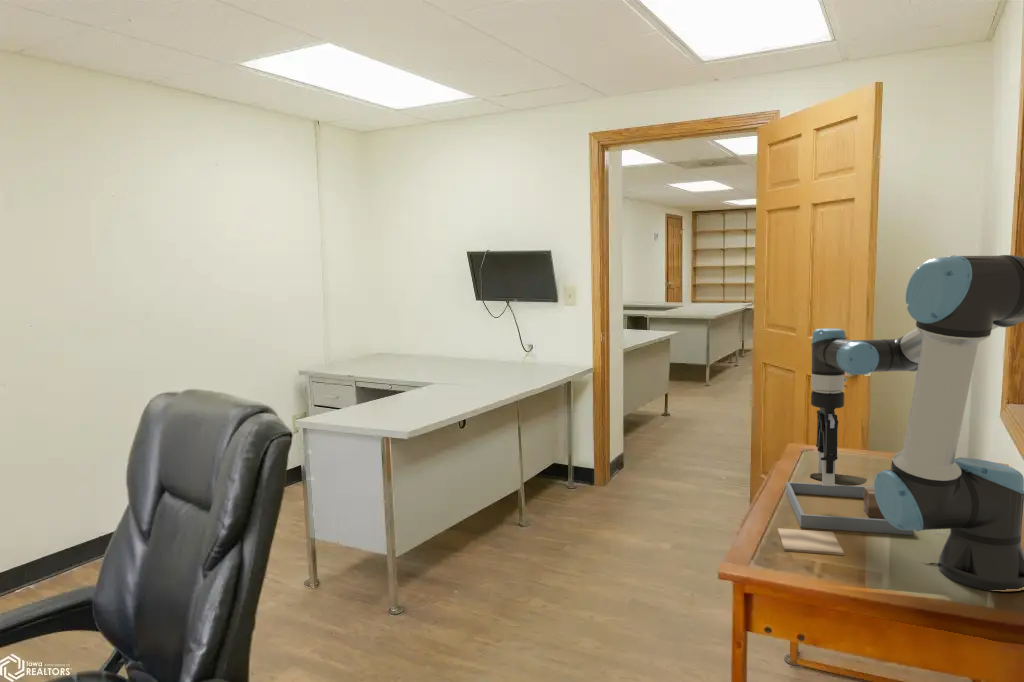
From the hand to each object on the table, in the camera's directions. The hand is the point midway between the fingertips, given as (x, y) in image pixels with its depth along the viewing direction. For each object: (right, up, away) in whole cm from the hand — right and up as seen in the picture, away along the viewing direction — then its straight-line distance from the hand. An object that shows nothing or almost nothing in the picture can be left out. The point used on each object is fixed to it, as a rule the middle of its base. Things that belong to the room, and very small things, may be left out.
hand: (825, 481), depth 172 cm
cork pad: (-12, -10, -18) cm, 24 cm away
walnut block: (+12, -8, -2) cm, 14 cm away
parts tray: (+4, -8, 0) cm, 9 cm away
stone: (+2, 0, +3) cm, 4 cm away
